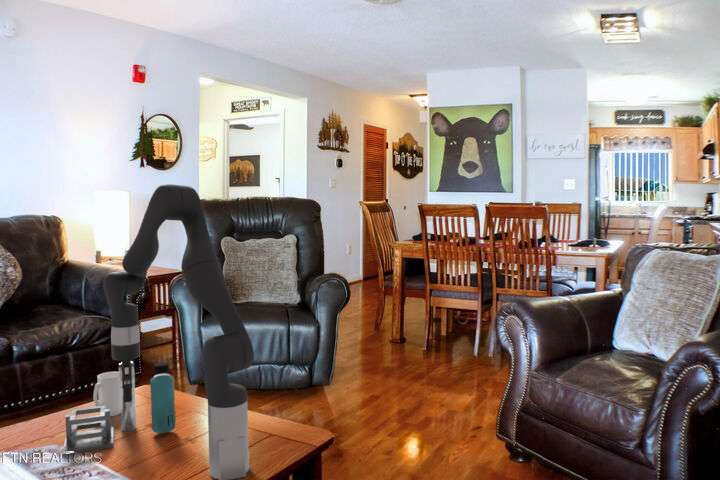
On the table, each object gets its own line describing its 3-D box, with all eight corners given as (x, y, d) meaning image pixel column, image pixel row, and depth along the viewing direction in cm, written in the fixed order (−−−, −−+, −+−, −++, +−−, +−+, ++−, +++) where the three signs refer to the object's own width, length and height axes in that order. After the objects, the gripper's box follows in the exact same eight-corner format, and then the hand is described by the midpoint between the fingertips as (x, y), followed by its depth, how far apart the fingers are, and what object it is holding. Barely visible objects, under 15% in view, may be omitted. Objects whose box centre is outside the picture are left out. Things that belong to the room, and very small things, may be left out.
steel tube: (136, 430, 166) (134, 367, 165) (121, 432, 164) (118, 369, 163) (136, 424, 170) (133, 364, 168) (121, 427, 168) (118, 365, 167)
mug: (109, 408, 184) (108, 370, 183) (127, 410, 181) (126, 372, 181) (85, 419, 174) (83, 380, 173) (104, 422, 172) (102, 382, 171)
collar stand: (113, 447, 154) (112, 417, 154) (62, 455, 150) (61, 424, 149) (113, 430, 166) (112, 402, 165) (66, 437, 161) (65, 408, 160)
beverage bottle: (168, 439, 159) (166, 367, 158) (146, 437, 161) (144, 366, 159) (180, 430, 166) (178, 360, 164) (159, 428, 167) (156, 359, 165)
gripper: (140, 345, 160) (142, 403, 161) (139, 334, 173) (140, 387, 175) (110, 348, 157) (113, 407, 159) (111, 336, 170) (113, 390, 172)
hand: (127, 396), depth 167 cm, fingers open, 8 cm apart
